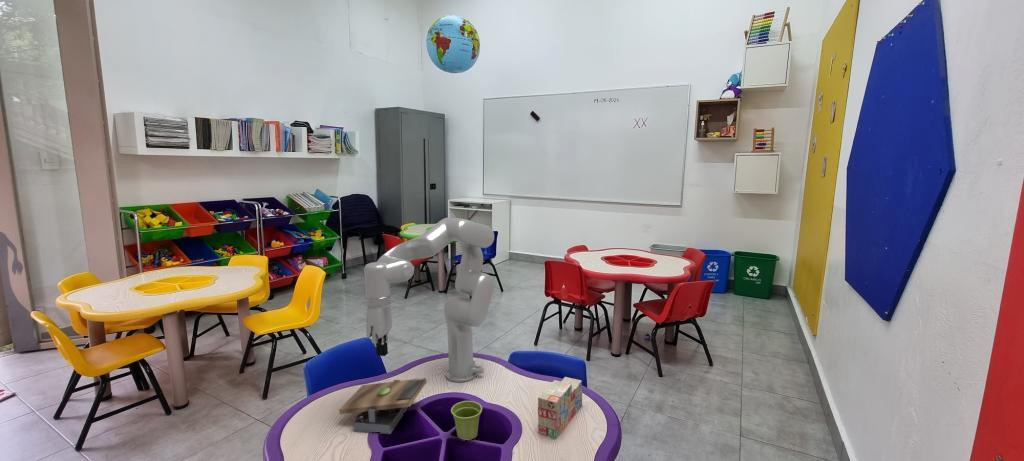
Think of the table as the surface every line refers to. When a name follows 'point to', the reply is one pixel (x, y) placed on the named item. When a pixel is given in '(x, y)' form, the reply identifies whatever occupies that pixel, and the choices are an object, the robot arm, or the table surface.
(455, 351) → the robot arm
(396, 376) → the table surface
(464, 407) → the plant pot
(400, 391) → the plate
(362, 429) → the base
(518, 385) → the table surface
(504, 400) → the table surface
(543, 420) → the stack of blocks
